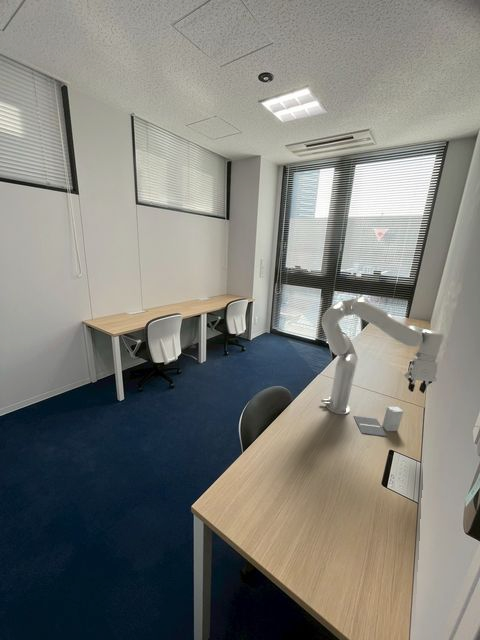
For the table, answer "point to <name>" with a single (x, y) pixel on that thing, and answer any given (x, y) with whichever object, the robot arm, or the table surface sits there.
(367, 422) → the mat
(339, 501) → the table surface
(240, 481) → the table surface
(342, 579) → the table surface
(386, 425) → the skincare box
